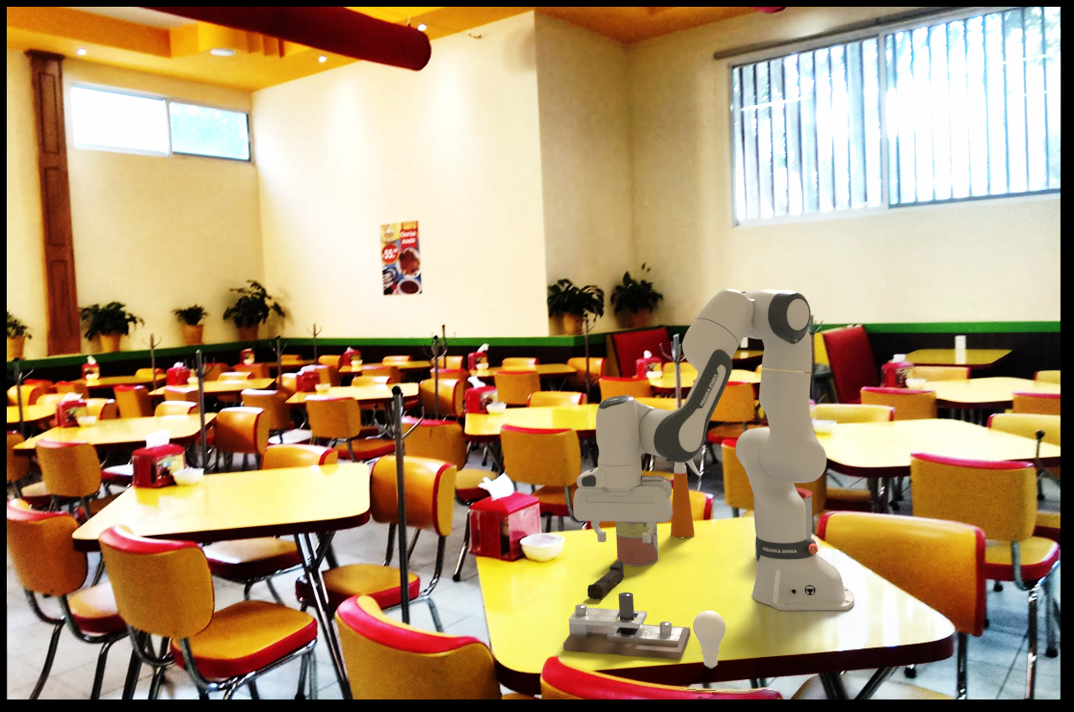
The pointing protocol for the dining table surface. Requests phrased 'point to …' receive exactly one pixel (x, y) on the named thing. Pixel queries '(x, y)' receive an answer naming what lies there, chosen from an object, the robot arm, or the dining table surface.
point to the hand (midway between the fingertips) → (624, 541)
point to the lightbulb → (709, 635)
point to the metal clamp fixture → (589, 617)
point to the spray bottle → (682, 502)
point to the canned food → (636, 544)
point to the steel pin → (626, 611)
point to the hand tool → (606, 581)
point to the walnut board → (625, 645)
